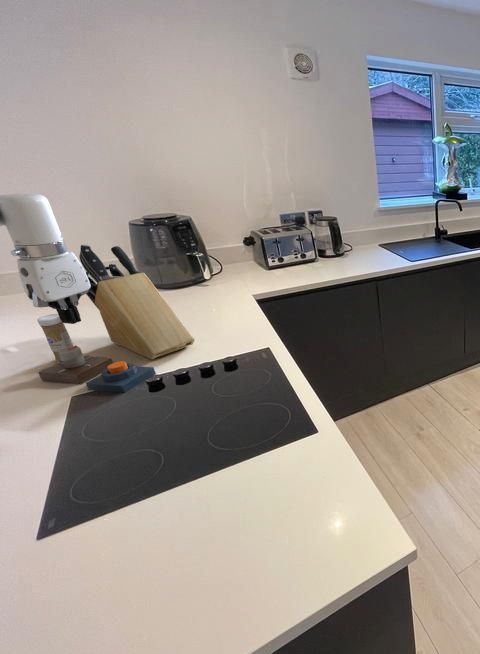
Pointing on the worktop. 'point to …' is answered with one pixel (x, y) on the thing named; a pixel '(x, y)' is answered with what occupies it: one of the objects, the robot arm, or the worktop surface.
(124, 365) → the orange push button
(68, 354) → the dial
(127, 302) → the knife block
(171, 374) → the worktop surface
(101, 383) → the push button base
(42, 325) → the sprinkles bottle
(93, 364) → the dial panel
